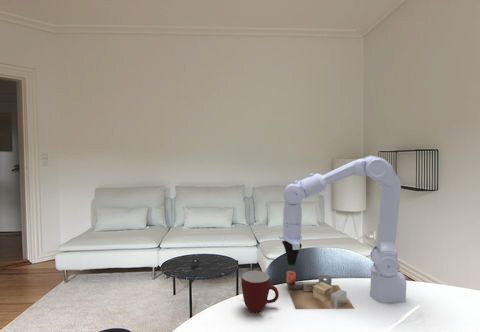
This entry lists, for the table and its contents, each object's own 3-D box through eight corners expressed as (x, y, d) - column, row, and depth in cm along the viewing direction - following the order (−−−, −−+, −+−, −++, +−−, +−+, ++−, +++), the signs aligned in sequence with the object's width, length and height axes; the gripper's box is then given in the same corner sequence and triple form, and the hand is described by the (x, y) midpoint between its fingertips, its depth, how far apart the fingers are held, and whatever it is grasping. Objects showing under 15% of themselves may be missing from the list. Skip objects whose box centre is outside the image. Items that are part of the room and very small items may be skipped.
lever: (329, 284, 106) (329, 269, 106) (333, 291, 102) (334, 275, 101) (285, 284, 106) (285, 270, 105) (287, 291, 101) (288, 276, 101)
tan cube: (321, 292, 101) (321, 282, 101) (332, 297, 98) (332, 286, 98) (313, 296, 99) (313, 285, 98) (324, 302, 96) (324, 290, 95)
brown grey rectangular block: (340, 300, 96) (340, 289, 96) (346, 303, 95) (346, 291, 95) (330, 306, 93) (330, 294, 93) (336, 308, 92) (336, 297, 91)
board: (337, 288, 107) (337, 285, 107) (354, 311, 92) (354, 308, 92) (286, 288, 106) (286, 285, 106) (295, 312, 92) (295, 309, 92)
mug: (276, 302, 97) (276, 270, 96) (280, 317, 89) (280, 282, 88) (240, 303, 97) (241, 270, 96) (241, 318, 89) (241, 282, 88)
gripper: (276, 216, 109) (275, 255, 110) (283, 228, 95) (282, 273, 96) (297, 216, 109) (296, 255, 111) (307, 228, 95) (306, 273, 96)
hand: (291, 264), depth 103 cm, fingers closed
